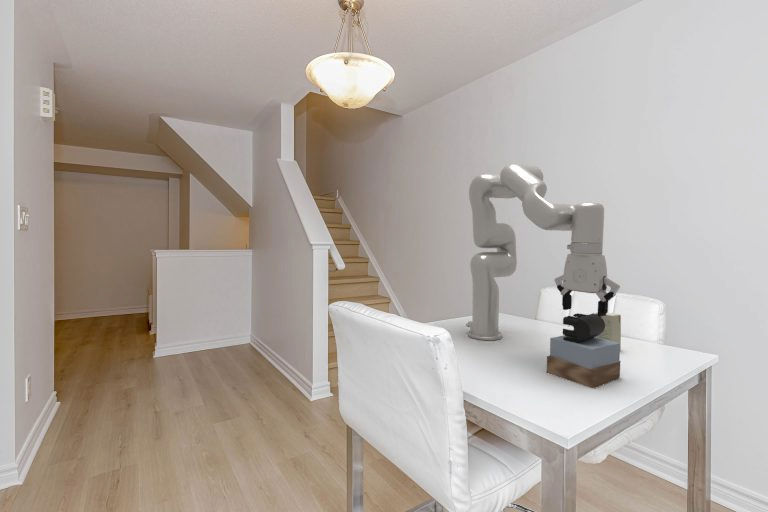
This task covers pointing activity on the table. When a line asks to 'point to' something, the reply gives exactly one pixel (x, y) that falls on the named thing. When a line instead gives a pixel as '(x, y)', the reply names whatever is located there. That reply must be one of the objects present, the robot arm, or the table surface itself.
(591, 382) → the walnut base block
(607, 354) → the slate top block
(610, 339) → the skincare box
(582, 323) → the end cap
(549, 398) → the table surface
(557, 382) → the table surface
